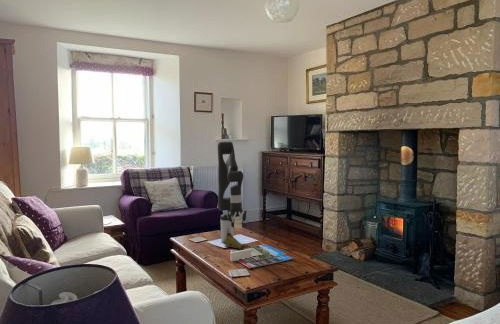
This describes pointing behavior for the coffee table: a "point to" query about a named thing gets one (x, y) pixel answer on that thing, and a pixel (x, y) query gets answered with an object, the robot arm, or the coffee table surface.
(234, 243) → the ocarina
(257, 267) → the coffee table surface
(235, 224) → the marked cube
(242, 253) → the cream rectangular block
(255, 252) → the mat
